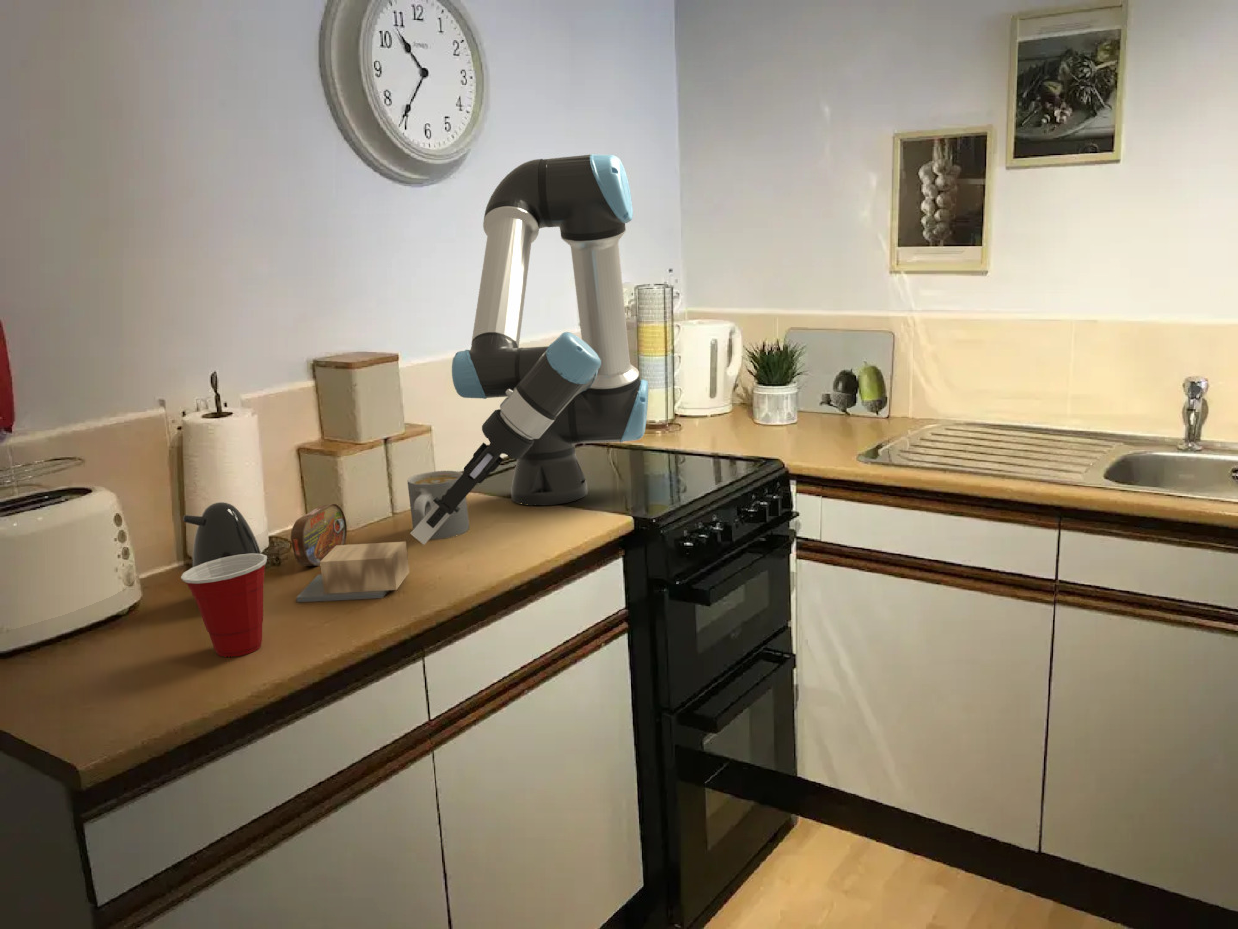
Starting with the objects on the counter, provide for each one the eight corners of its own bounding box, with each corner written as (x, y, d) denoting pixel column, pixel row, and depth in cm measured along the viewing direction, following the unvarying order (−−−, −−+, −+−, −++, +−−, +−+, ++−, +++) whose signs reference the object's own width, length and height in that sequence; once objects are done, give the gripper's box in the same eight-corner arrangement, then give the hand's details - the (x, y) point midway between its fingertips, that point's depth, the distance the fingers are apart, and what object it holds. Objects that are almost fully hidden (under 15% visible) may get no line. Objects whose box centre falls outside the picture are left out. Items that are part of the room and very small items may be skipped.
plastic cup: (230, 630, 144) (217, 549, 142) (296, 635, 141) (284, 551, 138) (176, 662, 134) (160, 575, 132) (245, 668, 131) (231, 579, 128)
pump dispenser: (187, 600, 158) (170, 505, 155) (253, 582, 164) (239, 490, 161) (210, 616, 150) (193, 516, 147) (278, 597, 157) (264, 500, 153)
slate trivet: (399, 575, 163) (398, 570, 163) (382, 598, 153) (382, 592, 153) (318, 579, 164) (318, 574, 163) (297, 602, 154) (296, 597, 154)
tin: (309, 572, 168) (302, 523, 166) (292, 572, 168) (284, 523, 166) (351, 544, 182) (344, 498, 180) (334, 544, 182) (328, 498, 181)
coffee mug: (435, 521, 192) (429, 469, 190) (479, 524, 188) (474, 471, 186) (390, 543, 181) (383, 487, 178) (436, 547, 176) (430, 490, 174)
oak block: (405, 541, 160) (336, 545, 161) (392, 558, 153) (319, 561, 153) (409, 572, 162) (340, 575, 162) (396, 589, 154) (324, 593, 154)
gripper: (504, 399, 157) (410, 510, 162) (489, 415, 145) (387, 534, 150) (542, 431, 158) (446, 540, 163) (530, 450, 146) (427, 567, 151)
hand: (418, 537), depth 156 cm, fingers closed
